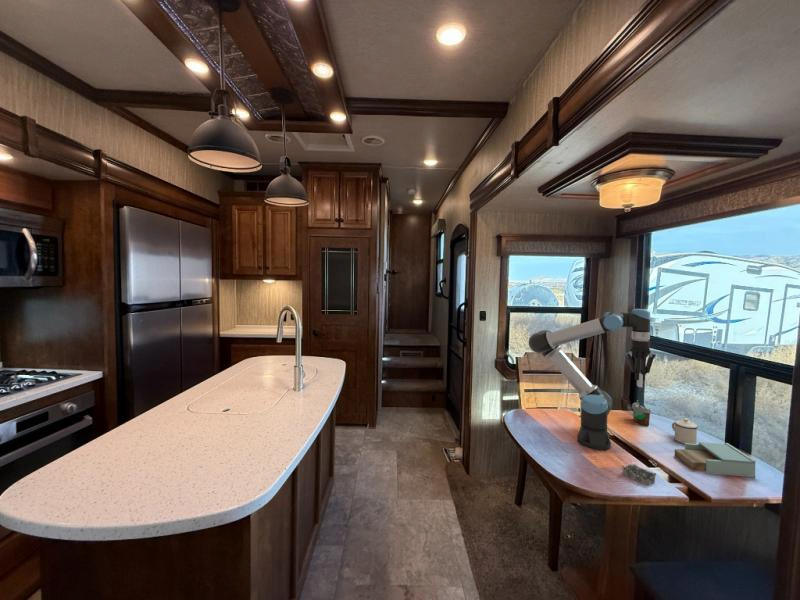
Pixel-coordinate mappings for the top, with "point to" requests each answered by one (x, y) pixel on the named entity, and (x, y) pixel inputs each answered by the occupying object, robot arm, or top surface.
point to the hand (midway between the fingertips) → (639, 386)
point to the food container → (641, 414)
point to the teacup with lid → (685, 431)
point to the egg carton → (642, 473)
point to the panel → (694, 458)
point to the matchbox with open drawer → (725, 459)
